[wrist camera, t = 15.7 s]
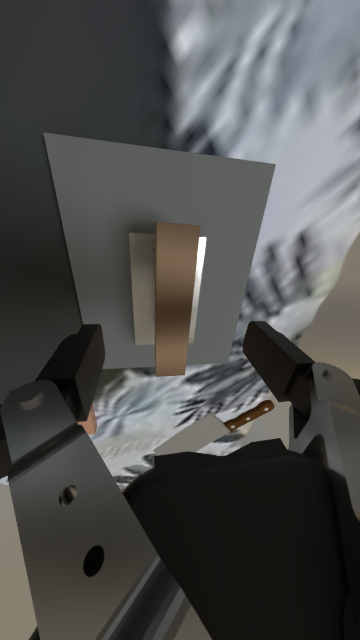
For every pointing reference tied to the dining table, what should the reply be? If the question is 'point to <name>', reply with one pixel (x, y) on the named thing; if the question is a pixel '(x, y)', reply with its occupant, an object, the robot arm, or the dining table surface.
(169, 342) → the plastering trowel
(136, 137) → the dining table surface
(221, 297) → the mat
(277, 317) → the dining table surface
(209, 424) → the kitchen cleaver
